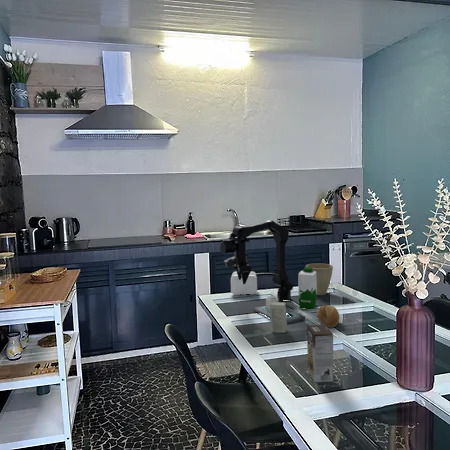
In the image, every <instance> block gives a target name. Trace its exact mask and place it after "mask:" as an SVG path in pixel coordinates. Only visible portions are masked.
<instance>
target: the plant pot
mask: <svg viewBox="0 0 450 450" xmlns="http://www.w3.org/2000/svg"><path fill="white" fill-rule="evenodd" d="M305 267H311V268H312V271H316V280H317V296H325V295H326V294H327V293H328V290H329V287H330V283H331V280H332V276H333V268H334V266H333V265H332V264H329V263H309V264H306V265H305Z"/></svg>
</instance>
